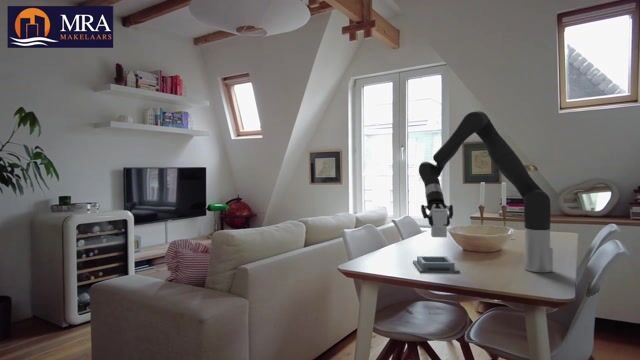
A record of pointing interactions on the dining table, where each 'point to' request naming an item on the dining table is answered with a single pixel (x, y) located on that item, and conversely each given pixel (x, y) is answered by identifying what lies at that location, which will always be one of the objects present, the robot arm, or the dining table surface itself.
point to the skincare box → (439, 223)
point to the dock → (435, 264)
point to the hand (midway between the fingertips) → (439, 225)
